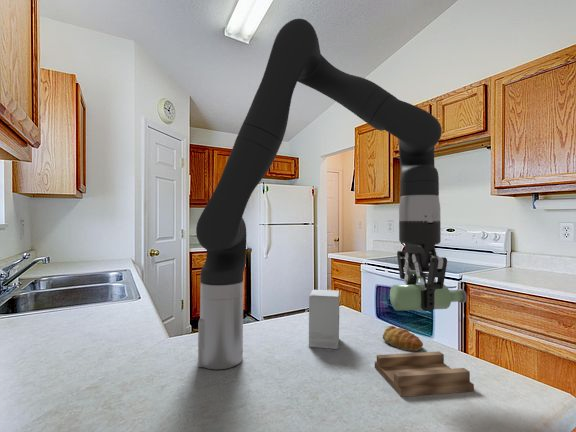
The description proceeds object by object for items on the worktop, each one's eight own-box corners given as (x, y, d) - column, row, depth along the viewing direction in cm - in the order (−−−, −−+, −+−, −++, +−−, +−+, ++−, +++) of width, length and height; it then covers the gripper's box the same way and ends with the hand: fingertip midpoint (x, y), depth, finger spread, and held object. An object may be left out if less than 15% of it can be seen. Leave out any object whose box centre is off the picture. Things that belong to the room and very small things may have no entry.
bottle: (401, 313, 58) (401, 288, 58) (389, 306, 62) (389, 282, 62) (471, 311, 60) (471, 286, 60) (454, 304, 64) (454, 281, 64)
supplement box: (338, 349, 74) (338, 296, 74) (307, 347, 75) (308, 295, 76) (339, 338, 81) (339, 290, 81) (311, 336, 82) (311, 288, 83)
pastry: (429, 348, 75) (428, 333, 75) (412, 355, 71) (412, 339, 71) (395, 337, 83) (395, 322, 83) (379, 342, 79) (379, 327, 79)
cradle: (400, 396, 54) (400, 379, 54) (374, 367, 65) (374, 353, 65) (473, 391, 56) (473, 374, 56) (436, 363, 67) (436, 349, 67)
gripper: (384, 219, 68) (385, 298, 67) (422, 218, 53) (422, 318, 53) (417, 219, 69) (417, 297, 68) (461, 219, 54) (462, 316, 54)
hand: (419, 305), depth 61 cm, fingers closed on bottle, 4 cm apart
